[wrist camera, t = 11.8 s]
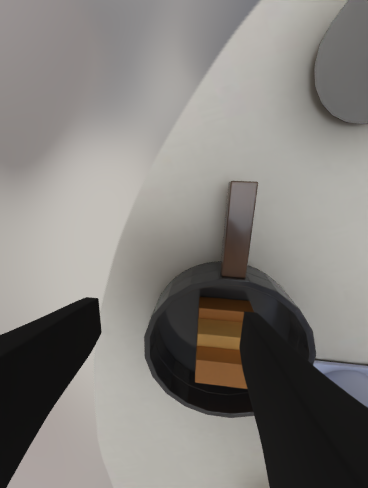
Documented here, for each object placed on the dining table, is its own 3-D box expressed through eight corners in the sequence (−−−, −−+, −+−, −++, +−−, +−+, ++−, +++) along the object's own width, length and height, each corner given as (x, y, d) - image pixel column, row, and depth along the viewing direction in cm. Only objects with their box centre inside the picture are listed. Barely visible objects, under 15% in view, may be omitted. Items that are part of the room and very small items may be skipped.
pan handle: (242, 272, 16) (245, 278, 14) (220, 270, 16) (221, 276, 15) (253, 182, 14) (258, 181, 13) (228, 181, 14) (230, 180, 13)
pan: (279, 384, 21) (296, 427, 17) (155, 369, 22) (145, 406, 18) (305, 266, 17) (334, 287, 14) (155, 256, 19) (142, 273, 15)
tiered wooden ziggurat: (241, 354, 20) (255, 411, 15) (196, 349, 20) (193, 403, 15) (249, 300, 18) (267, 343, 13) (199, 296, 19) (197, 336, 14)
